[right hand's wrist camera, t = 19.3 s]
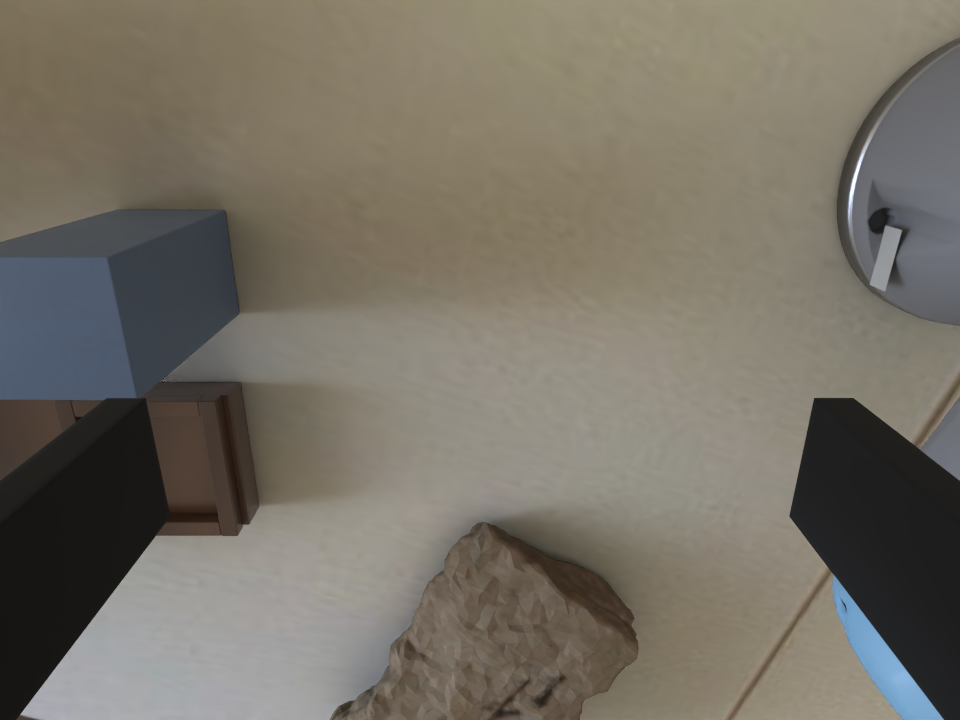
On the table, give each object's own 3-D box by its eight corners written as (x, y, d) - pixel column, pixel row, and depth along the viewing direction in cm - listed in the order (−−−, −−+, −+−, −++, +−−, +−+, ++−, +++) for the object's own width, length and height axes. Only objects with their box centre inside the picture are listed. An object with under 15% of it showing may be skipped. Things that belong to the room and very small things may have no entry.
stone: (494, 819, 49) (487, 893, 43) (332, 708, 49) (302, 767, 43) (655, 605, 45) (672, 653, 40) (481, 489, 46) (471, 519, 40)
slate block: (225, 209, 35) (107, 257, 24) (239, 313, 38) (138, 400, 26) (116, 209, 35) (-52, 256, 24) (137, 313, 38) (-8, 400, 26)
